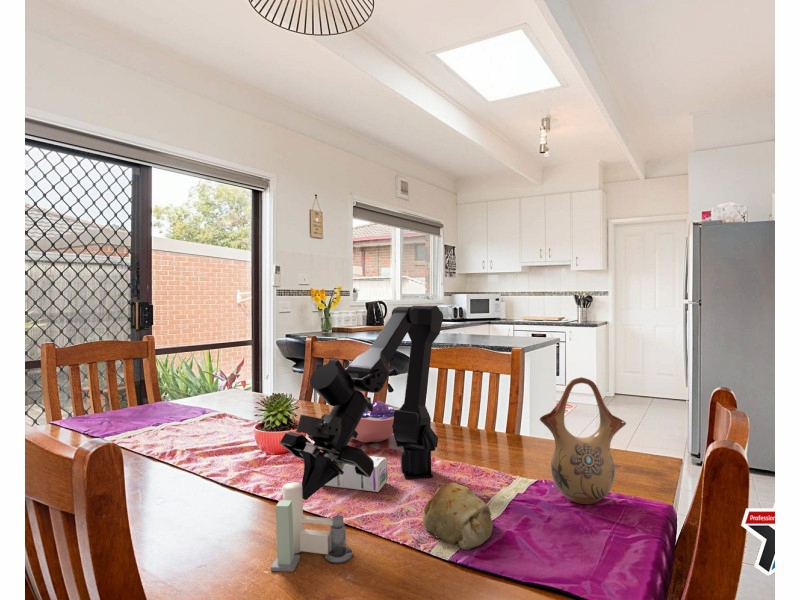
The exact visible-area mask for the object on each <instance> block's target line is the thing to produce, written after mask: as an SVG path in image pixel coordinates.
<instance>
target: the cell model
mask: <svg viewBox="0 0 800 600" xmlns="http://www.w3.org/2000/svg"><path fill="white" fill-rule="evenodd" d="M371 404H372V406H373V411H372V412H370V411H364V413H363V415H362V417H361V419H360V421H359V423H358V425H357V427H356V429H355V431H356V432H357V433H358V435H357V437H356V438H352V437H351V439H353V440H356V441H358V442H361V443H364V444H366V443H367V444H368V443H370V442H371V443H380V442H383V441H387V440H388V439H390V438H391V437H392V436H393V428H392V425H393V421H394V412H395V410H399V409H400V408H401V407H398V406H394V405H391V404H387V403H385V402H383V401H381V400H378V401H372V402H371Z"/></svg>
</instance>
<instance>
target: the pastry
mask: <svg viewBox="0 0 800 600" xmlns="http://www.w3.org/2000/svg"><path fill="white" fill-rule="evenodd" d="M423 512H424V515H423V517H422V524H423V526H424V528H425V529H426V531H428V532H429V533H430V534H432V533H433V534H434V535H435V536H434V535H433V534H432V535H433V536H434V537H436V536H437V537H439V538H440V539H439V538H438V539H439V540H443V541H444V540H445V542H446V541H447V542H446V543H449V542H450V543H449V544H451V543H453V544H452V545H456V544H457V545H456V546H458V547H460V548H459V549H462V550H463V549H465V550H466V551H467V549H468V550H471V549H473V548H477V547H480V546H481V545H482V544H483V543H485V542H486V541H487V540H488V539H489V538H491V537H492V535H493V528H494V524H493V520H492V517H491V516H492V513H491V510H490V507H489V506H488V505H487V503H486V502H485V501H484V500H483V499H481V498H479V497H478V496H476V495H475V493H473V492H472V491H471V489H470V488H469V487H467V486H464V485H462V484H458V483H457V482H454V481H451V482H449V483H446V484H443V486H442V485H441V486H439V487H437V488H436V491H435V492H434V494H433V495H432V496H431V497H430V499H429V500H427V501H426V504H425V507H424V511H423ZM437 537H436V538H437ZM465 550H464V551H465Z"/></svg>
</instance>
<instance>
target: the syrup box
mask: <svg viewBox="0 0 800 600" xmlns="http://www.w3.org/2000/svg"><path fill="white" fill-rule="evenodd" d="M368 456H369V457H370V458H371V459H372V460H373V462H374V469H373V471H372V474H371V476H370V477H369V478H368V477H365V476H361V475H358V474H357V473H356V471H355V466H353V465H349V464H345V465H344V467H343V469H342V471H343V472H344V473H343V475H338V476H336V477H335V478H333V479H332V480H331V481H329V482H328V483H326V484H325V485H324V486H326V487H333V488H340V489H342V488H343V489H349V490H350V489H351V490H360V491H368V492H377V493H379V491H380V490H381V489H382V488H383V486H384V485H385V484H386V483H387V481H388V462H387V457H383V456H371V455H368Z"/></svg>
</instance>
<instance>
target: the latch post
mask: <svg viewBox="0 0 800 600" xmlns="http://www.w3.org/2000/svg"><path fill="white" fill-rule="evenodd" d="M275 521H276V522H275V524H276V525H275V526H276V530H275V531H276V558H275V559H274V561H273V563H272V564H271V566H270V571H271V572H289V573H291V572H294V571H295V569H296V568H297V565H298V563H299V561H300V560H301V554H294V549H293V515H292V500H283V499H280V500H279V501H278V502H277V504H276V505H275Z"/></svg>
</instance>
